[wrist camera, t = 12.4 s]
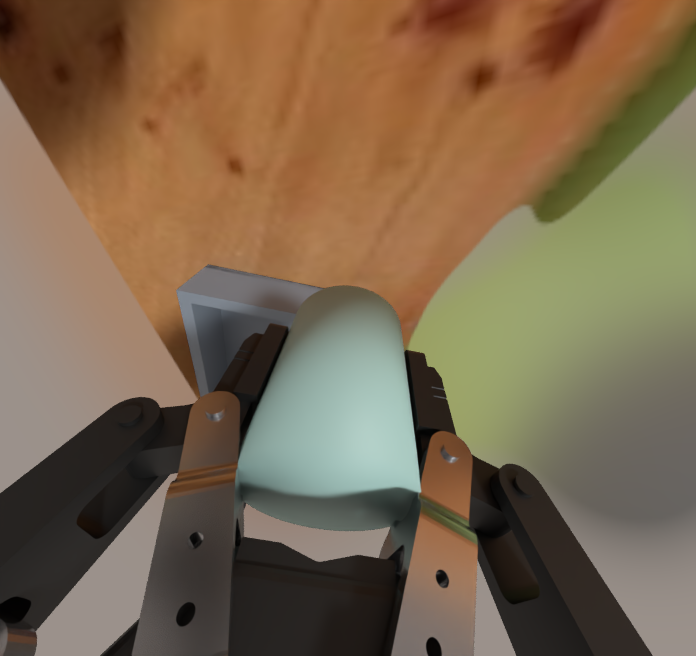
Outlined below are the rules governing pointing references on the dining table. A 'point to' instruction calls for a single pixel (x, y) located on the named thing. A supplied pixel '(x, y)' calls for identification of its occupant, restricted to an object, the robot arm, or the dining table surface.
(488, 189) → the dining table surface
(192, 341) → the box
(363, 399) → the teal cylinder
